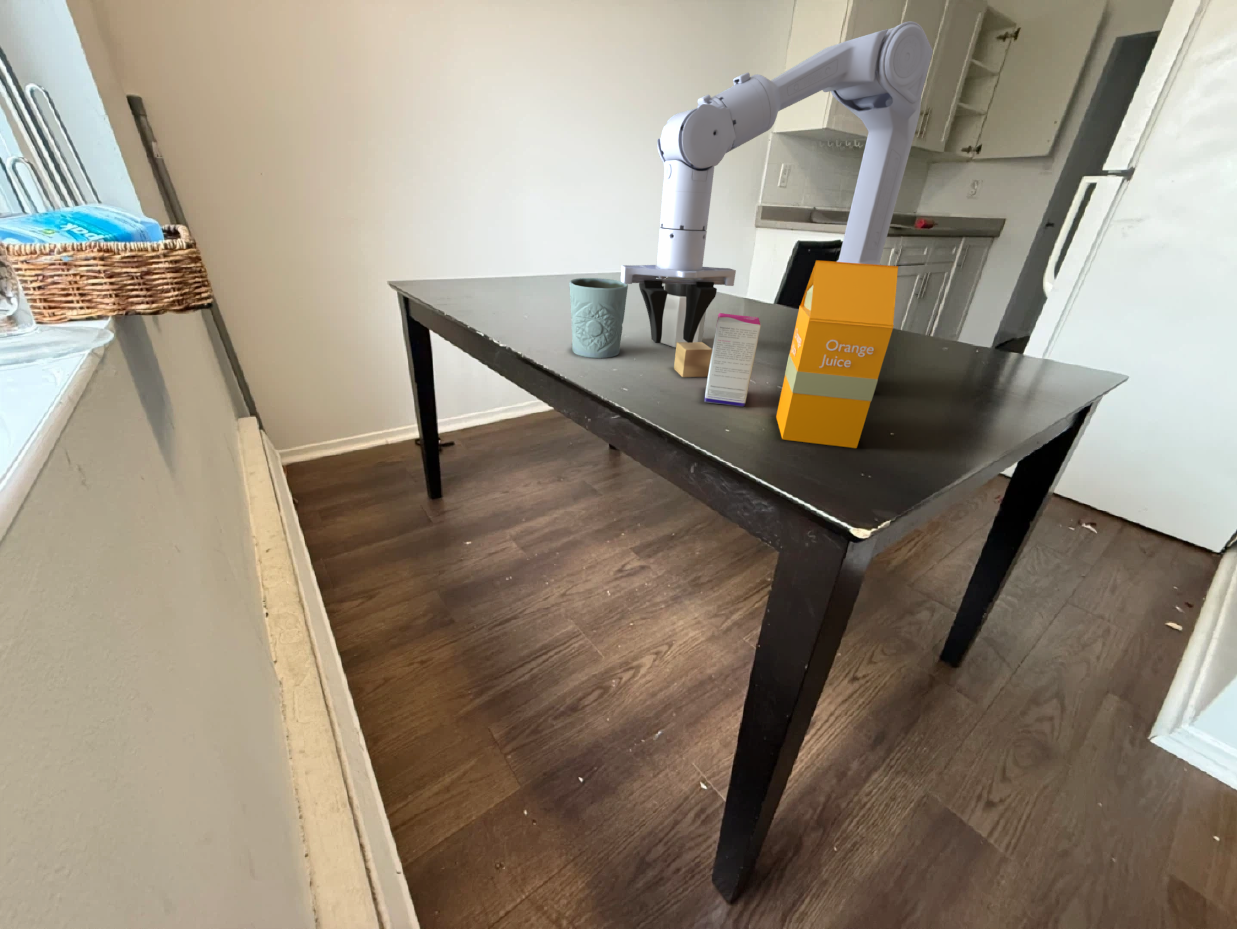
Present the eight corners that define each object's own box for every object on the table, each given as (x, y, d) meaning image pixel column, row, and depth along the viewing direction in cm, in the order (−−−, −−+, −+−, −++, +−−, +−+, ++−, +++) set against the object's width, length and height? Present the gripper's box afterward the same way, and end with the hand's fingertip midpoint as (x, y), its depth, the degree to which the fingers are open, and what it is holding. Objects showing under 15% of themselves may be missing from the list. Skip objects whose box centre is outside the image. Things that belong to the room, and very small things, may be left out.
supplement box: (746, 407, 70) (761, 324, 65) (703, 402, 71) (715, 320, 66) (745, 394, 76) (759, 315, 70) (705, 389, 76) (716, 311, 71)
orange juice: (857, 448, 60) (911, 270, 51) (781, 439, 61) (820, 264, 52) (843, 423, 67) (888, 262, 58) (775, 416, 68) (809, 256, 59)
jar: (695, 337, 105) (703, 276, 100) (708, 348, 98) (716, 283, 92) (653, 337, 104) (658, 275, 98) (663, 348, 97) (669, 282, 91)
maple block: (699, 368, 86) (702, 342, 84) (708, 376, 82) (712, 349, 80) (673, 368, 85) (676, 342, 83) (682, 377, 81) (685, 349, 79)
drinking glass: (599, 341, 98) (601, 276, 93) (636, 354, 92) (640, 285, 86) (557, 349, 92) (557, 279, 86) (593, 363, 86) (595, 289, 80)
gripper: (633, 228, 56) (626, 349, 63) (752, 234, 59) (734, 348, 66) (619, 225, 62) (614, 335, 69) (728, 230, 65) (714, 335, 72)
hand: (672, 341), depth 68 cm, fingers open, 4 cm apart
